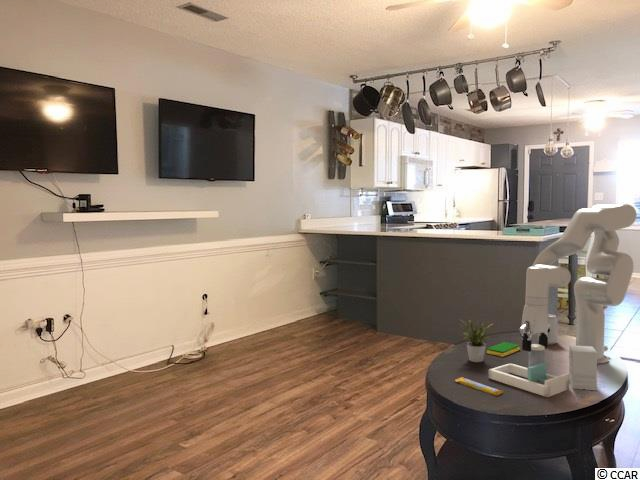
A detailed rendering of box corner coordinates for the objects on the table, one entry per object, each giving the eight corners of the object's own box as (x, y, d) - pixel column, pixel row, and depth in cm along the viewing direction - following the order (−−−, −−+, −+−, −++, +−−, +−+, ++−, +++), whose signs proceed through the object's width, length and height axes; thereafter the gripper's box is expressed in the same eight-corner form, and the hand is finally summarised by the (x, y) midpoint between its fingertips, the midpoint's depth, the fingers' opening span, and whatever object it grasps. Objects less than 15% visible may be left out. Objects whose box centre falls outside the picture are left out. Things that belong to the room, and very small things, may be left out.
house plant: (446, 360, 199) (446, 318, 198) (463, 352, 209) (464, 312, 208) (481, 368, 189) (482, 324, 188) (497, 359, 199) (498, 317, 198)
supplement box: (592, 383, 171) (593, 346, 170) (596, 391, 164) (597, 352, 163) (568, 381, 174) (569, 344, 173) (571, 388, 167) (572, 350, 166)
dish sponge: (520, 350, 211) (520, 344, 211) (503, 357, 202) (503, 351, 202) (503, 347, 217) (504, 341, 217) (486, 354, 207) (486, 348, 207)
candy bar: (505, 395, 164) (505, 389, 163) (497, 398, 161) (497, 392, 161) (462, 380, 177) (462, 375, 177) (454, 383, 175) (454, 378, 175)
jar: (534, 367, 189) (534, 343, 188) (547, 371, 184) (547, 346, 184) (525, 370, 186) (525, 345, 185) (538, 374, 181) (538, 349, 181)
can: (540, 344, 218) (541, 316, 217) (536, 339, 226) (536, 312, 225) (559, 345, 217) (560, 317, 216) (554, 340, 224) (555, 313, 224)
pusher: (542, 382, 172) (543, 362, 172) (557, 387, 168) (557, 366, 167) (527, 387, 168) (527, 367, 167) (542, 392, 163) (542, 371, 163)
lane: (510, 371, 185) (510, 357, 184) (569, 389, 167) (569, 373, 166) (488, 378, 178) (488, 363, 178) (547, 397, 160) (547, 381, 160)
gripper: (541, 297, 191) (539, 343, 192) (512, 301, 181) (510, 349, 182) (560, 301, 185) (558, 348, 186) (531, 305, 175) (529, 354, 176)
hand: (534, 348), depth 184 cm, fingers open, 9 cm apart
